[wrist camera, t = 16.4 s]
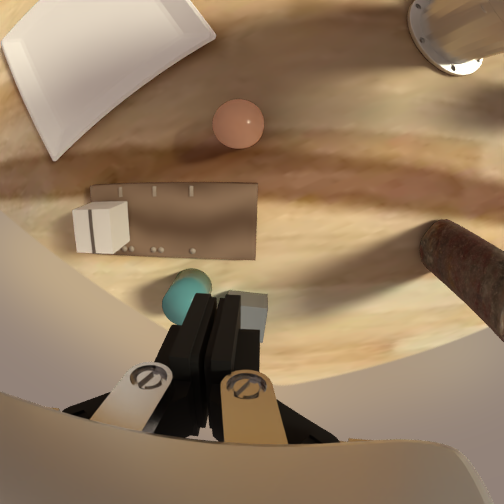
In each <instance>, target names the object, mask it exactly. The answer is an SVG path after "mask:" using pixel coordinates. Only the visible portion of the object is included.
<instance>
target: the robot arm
mask: <svg viewBox="0 0 504 504" xmlns="http://www.w3.org/2000/svg"><path fill="white" fill-rule="evenodd" d="M407 21H408V27H409V31H410V34H411V36H412V38H413V41H414V42H415V44H416V46H417V47H418V49H419V50H420V52H421V53H422V54H423V55H424V57H425V58H426V59H427V60H428V61H429V62H430V63H432V64H433V65H434V66H436V67H437V68H438V69H440V70H442V71H443V72H445V73H448V74H451V75H455V76H465V75H469V74H472V73H473V72H475V71H476V70H477V69H478V68H479V67H480V65H481V63H482V60H483V58H486V57H489V56H493V55H496V54H500V53H504V0H415V1H414V2H413V3H412V4H411V5H410V7H409V10H408V16H407ZM259 358H260V330H257V329H241V295H229V294H226V297H225V298H220V300H219V304H218V308H217V301H216V298H212V297H211V294H208V293H196V294H195V296H194V298H193V300H192V303H191V305H190V307H189V309H188V312H187V314H186V316H185V319H184V321H183V323H182V325H172V326H171V327H170V329H169V331H168V334H167V336H166V338H165V340H164V342H163V344H162V346H161V348H160V350H159V353H158V355H157V357H156V359H155V361H154V362H144V363H140V364H137V365H135V366H133V367H132V368H131V369H129V370H128V371H127V372H126V374H125V375H124V376H123V377H122V379H121V380H120V382H119V383H118V384H117V385H116V386H115V388H114V389H113V390H112V391H111V392H109V393H106V394H104V395H101V396H98V397H95V398H93V399H90V400H87V401H85V402H82V403H79V404H76V405H73V406H70V407H68V408H66V409H64V410H63V411H62V412H61V411H60V410H59V408H49V407H45V406H41V405H39V404H36V403H33V402H30V401H27V400H23V399H21V398H18V397H15V396H12V395H9V394H6V393H3V392H0V504H494V503H493V501H492V498H491V496H490V494H489V492H488V490H487V488H486V486H485V484H484V483H483V481H482V479H481V477H480V476H479V474H478V473H477V471H476V469H475V468H474V467H473V465H472V464H471V462H470V461H469V460H468V459H467V458H466V457H465V456H464V455H463V454H462V453H461V452H459V451H458V450H457V449H455V448H453V447H450V446H447V445H444V444H440V443H436V442H430V441H422V440H406V439H390V440H362V439H350V438H349V439H348V441H347V442H343V441H339V440H338V439H337V438H336V437H335V436H334V435H332V434H331V433H329V432H328V431H326V430H324V429H323V428H321V427H319V426H318V425H316V424H314V423H313V422H311V421H310V420H308V419H306V418H305V417H303V416H302V415H300V414H298V413H297V412H295V411H294V410H292V409H291V408H289V407H288V406H286V405H284V404H283V403H281V402H280V401H278V400H277V399H276V397H275V393H274V389H273V385H272V383H271V381H270V379H269V378H268V377H267V376H266V375H264V374H262V373H260V372H259ZM208 416H209V426H210V428H212V432H213V437H215V438H216V439H217V440H218V441H219V442H217V441H206V440H197V439H188V438H186V437H188V436H190V435H193V436H198V434H199V429H200V427H202V428H205V427H206V423H207V417H208Z"/></svg>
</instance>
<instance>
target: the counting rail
mask: <svg viewBox="0 0 504 504" xmlns="http://www.w3.org/2000/svg"><path fill="white" fill-rule="evenodd" d="M257 193H258V183H244V182H147V183H117V184H96V185H92V186H90V195H91V202H108V201H127V205H128V222H129V235H130V241H129V242H128V243H127V244H125V245H124V246H123V247H122V248H120V249H119V250H118V251H116V252H115V253H114V254H110V255H133V256H157V257H183V258H209V259H236V260H255V257H256V226H257ZM96 254H102V253H96Z"/></svg>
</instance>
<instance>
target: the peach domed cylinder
mask: <svg viewBox="0 0 504 504" xmlns="http://www.w3.org/2000/svg"><path fill="white" fill-rule="evenodd" d="M212 125H213V131H214V134H215V136H216V137H217V139H218V140H219V141H220V142H221V143H222V144H224V145H226V146H228V147H230V148H236V149H242V148H248V147H251V146H253V145H255V144H256V143H257V142H258V141H259V140H260V138H261V137H262V134H263V131H264V118H263V115H262V113H261V111H260V109H259V108H258V107H257V106H256V105H255V104H253V103H252V102H250V101H247V100H244V99H234V100H230V101H227V102H225V103H224V104H222V105H221V106H220V107H219V108H218V109H217V111H216V113H215V115H214V117H213V123H212Z"/></svg>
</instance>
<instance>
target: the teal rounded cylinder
mask: <svg viewBox="0 0 504 504" xmlns="http://www.w3.org/2000/svg"><path fill="white" fill-rule="evenodd" d="M211 292H212V284H211V281H210V279H209V277H208V276H207V275H206V274H205V273H204V272H202V271H200V270H198V269H193V268H191V269H185V270H183V271H181V272H180V273H179V274H178V275H177V277H176V279H175V280H174V282H173V283H172V285H171V287H170V288H169V290H168V291H167V293H166V295H165V296H164V298H163V301H162V308H163V311H164V314H165V315H166V317H167V318H168V319H169V320H170V321H171V322H173V323H175V324H177V325H182V323H183V321H184V319H185V316H186V314H187V312H188V309H189V307H190V305H191V303H192V300H193V298H194V296H195V294H196V293H208V294H211Z"/></svg>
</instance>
